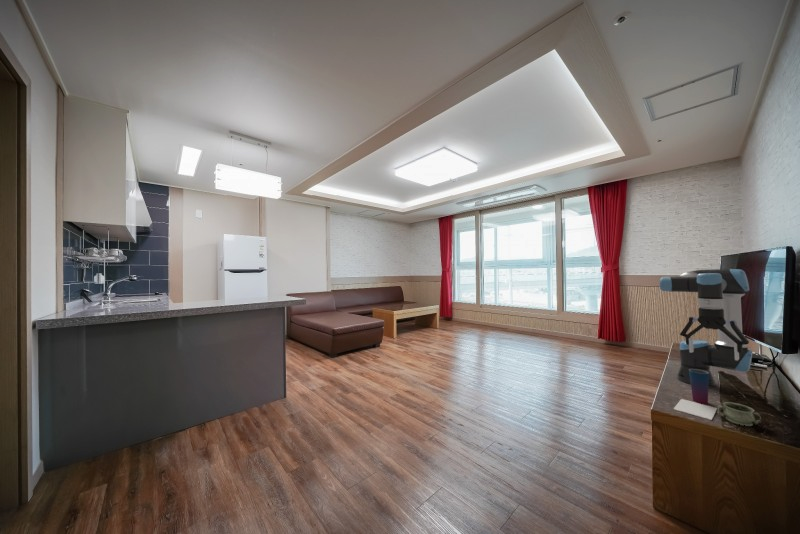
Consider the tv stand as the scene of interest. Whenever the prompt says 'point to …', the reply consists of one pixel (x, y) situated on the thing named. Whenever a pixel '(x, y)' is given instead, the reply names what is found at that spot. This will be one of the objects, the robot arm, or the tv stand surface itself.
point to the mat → (696, 409)
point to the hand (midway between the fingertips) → (713, 355)
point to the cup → (699, 385)
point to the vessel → (739, 414)
